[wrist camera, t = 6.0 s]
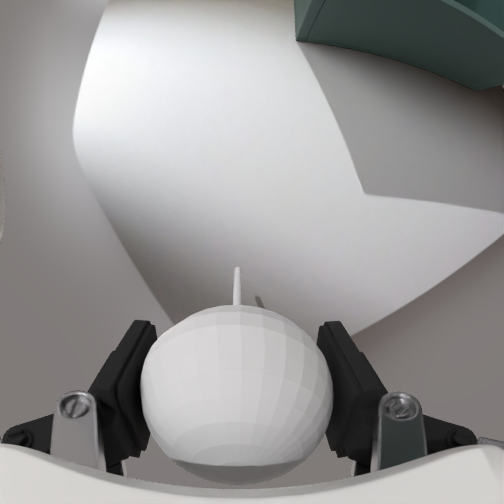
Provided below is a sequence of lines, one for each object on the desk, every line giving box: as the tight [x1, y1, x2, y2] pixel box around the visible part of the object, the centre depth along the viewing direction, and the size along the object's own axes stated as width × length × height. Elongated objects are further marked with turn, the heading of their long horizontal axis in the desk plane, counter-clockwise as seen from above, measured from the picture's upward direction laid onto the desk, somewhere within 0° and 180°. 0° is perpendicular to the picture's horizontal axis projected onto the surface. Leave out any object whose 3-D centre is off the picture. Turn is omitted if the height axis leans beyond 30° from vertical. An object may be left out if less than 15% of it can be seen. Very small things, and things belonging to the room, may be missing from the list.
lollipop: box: [140, 267, 334, 485], centre depth 12 cm, size 6×6×15 cm
